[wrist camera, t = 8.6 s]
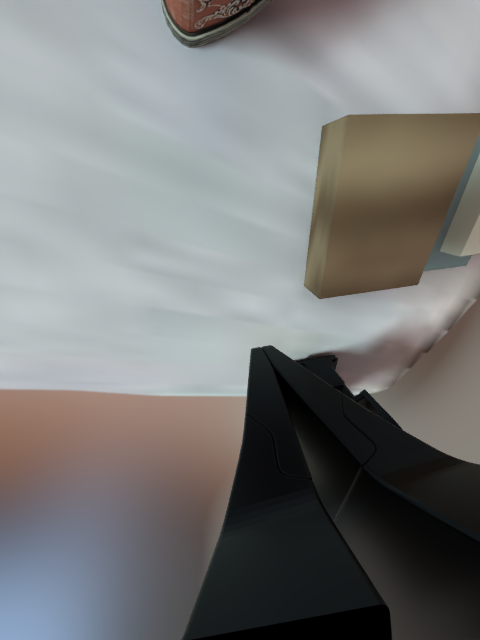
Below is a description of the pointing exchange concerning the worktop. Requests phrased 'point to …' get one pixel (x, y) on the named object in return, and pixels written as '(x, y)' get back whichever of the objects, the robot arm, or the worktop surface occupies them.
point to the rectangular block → (466, 220)
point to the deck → (383, 198)
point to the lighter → (207, 18)
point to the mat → (440, 258)
